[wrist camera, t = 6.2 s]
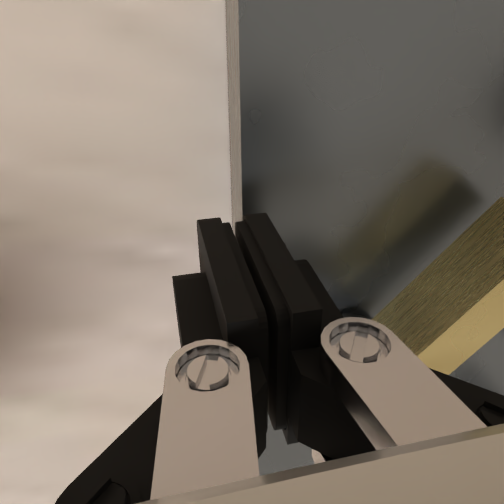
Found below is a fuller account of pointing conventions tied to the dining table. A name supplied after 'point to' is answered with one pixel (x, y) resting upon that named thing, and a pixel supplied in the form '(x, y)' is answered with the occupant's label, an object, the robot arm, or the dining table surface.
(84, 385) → the dining table surface
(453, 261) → the tan lever handle
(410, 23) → the base plate
